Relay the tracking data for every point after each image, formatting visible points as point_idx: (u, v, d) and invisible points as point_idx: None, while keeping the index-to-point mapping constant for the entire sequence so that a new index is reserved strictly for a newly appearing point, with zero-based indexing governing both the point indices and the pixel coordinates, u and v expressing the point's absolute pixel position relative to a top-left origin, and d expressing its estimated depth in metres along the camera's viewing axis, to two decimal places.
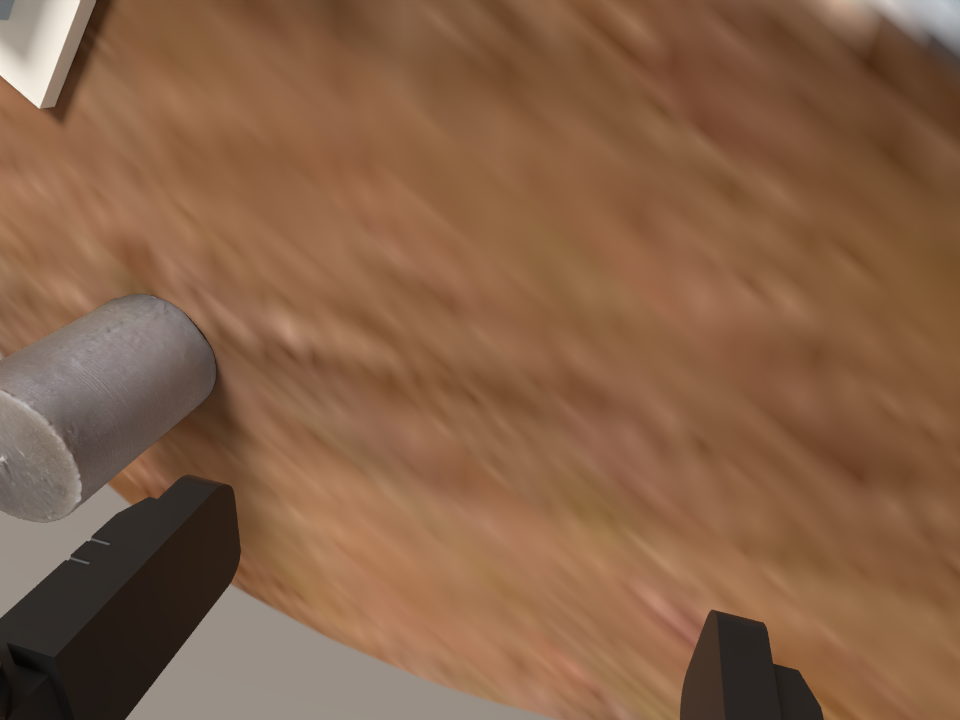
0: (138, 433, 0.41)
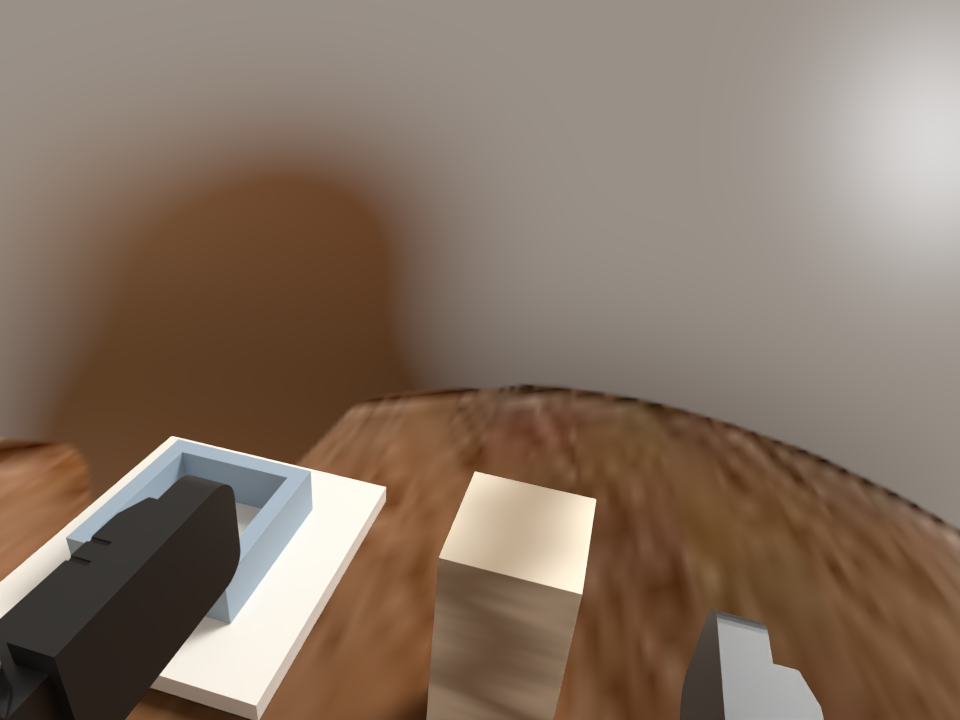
0: None
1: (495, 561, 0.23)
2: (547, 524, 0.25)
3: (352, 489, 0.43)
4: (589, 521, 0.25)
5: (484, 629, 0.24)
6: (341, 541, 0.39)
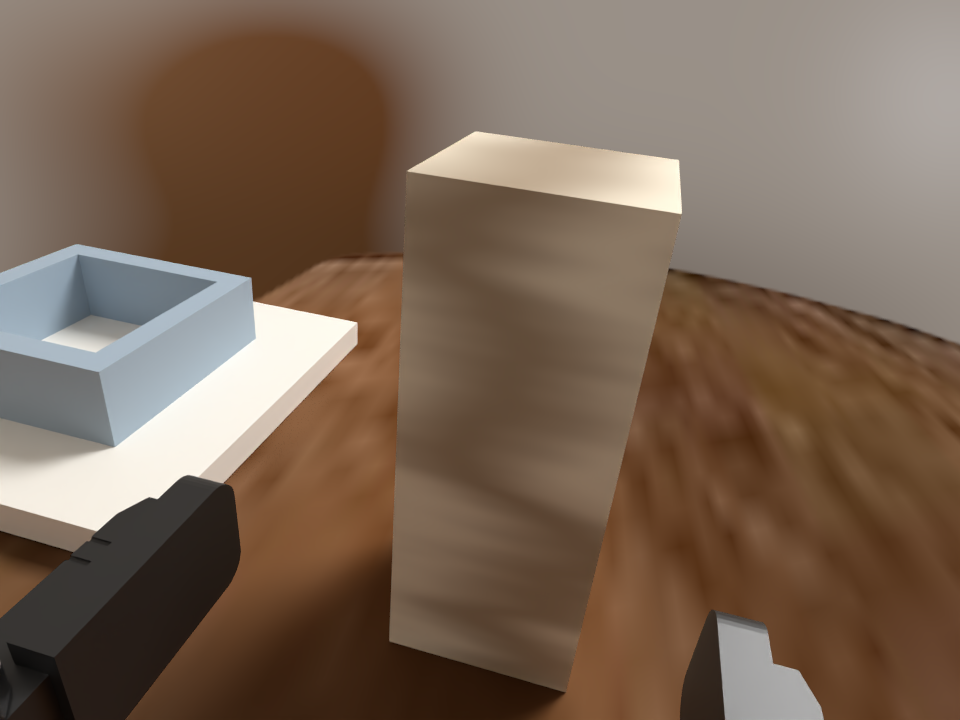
0: None
1: (513, 181, 0.12)
2: (602, 167, 0.14)
3: (312, 322, 0.32)
4: (673, 170, 0.14)
5: (489, 332, 0.13)
6: (290, 369, 0.28)
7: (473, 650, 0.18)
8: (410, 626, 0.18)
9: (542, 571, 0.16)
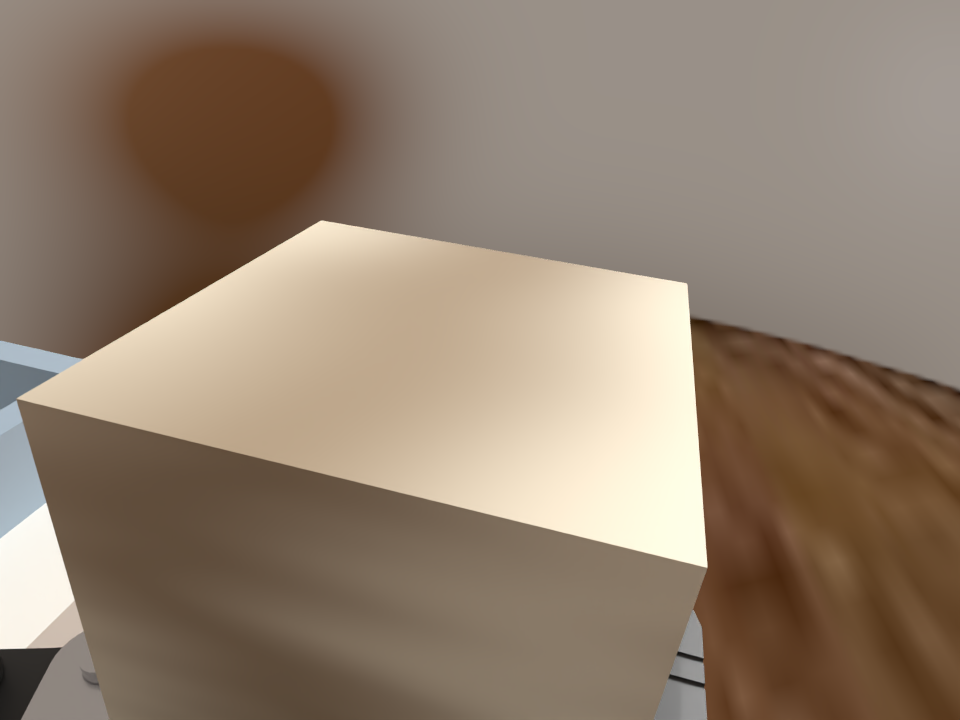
0: None
1: (284, 419, 0.05)
2: (531, 326, 0.07)
3: None
4: (677, 325, 0.07)
5: (273, 715, 0.06)
6: None
7: None
8: None
9: None
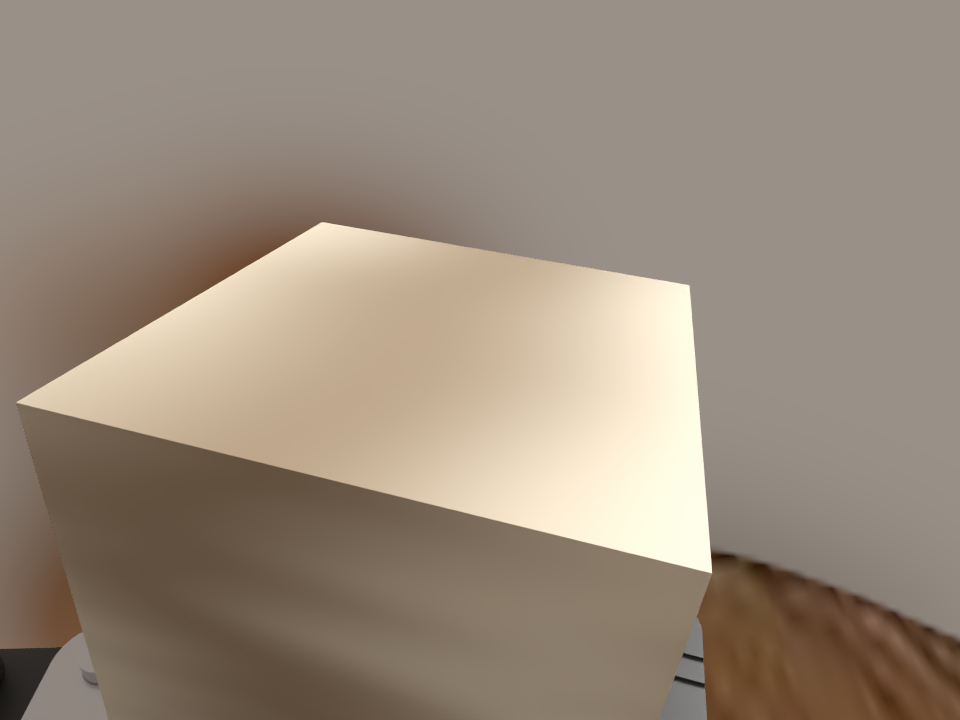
0: None
1: (285, 424, 0.05)
2: (533, 328, 0.07)
3: None
4: (679, 327, 0.07)
5: None
6: None
7: None
8: None
9: None
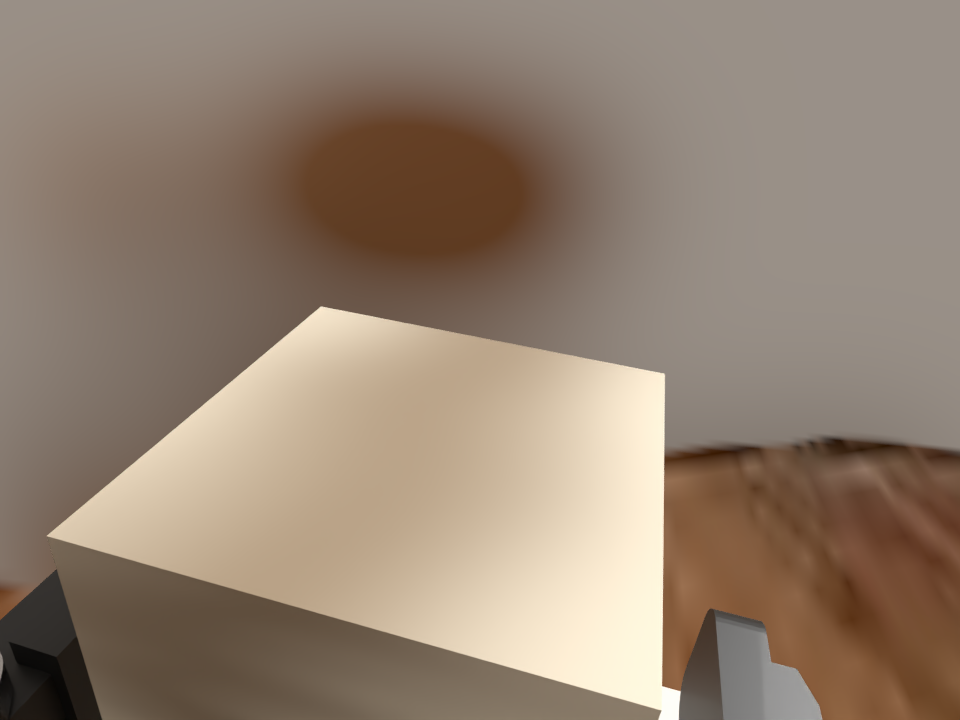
0: None
1: (288, 553, 0.06)
2: (515, 431, 0.07)
3: None
4: (652, 426, 0.08)
5: None
6: None
7: None
8: None
9: None
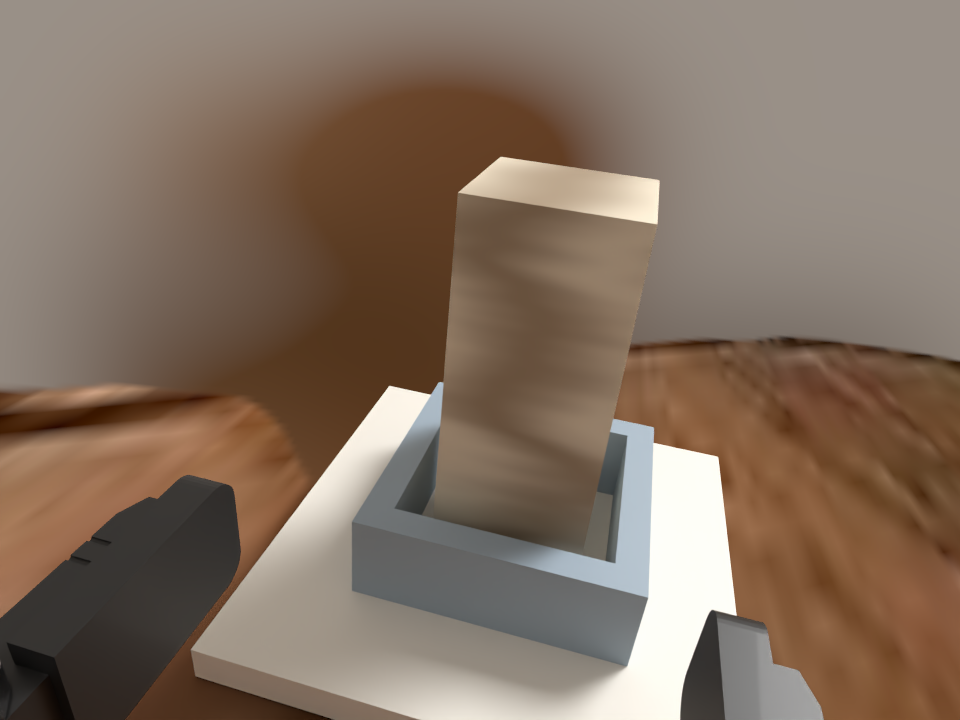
0: None
1: (535, 199, 0.17)
2: (600, 187, 0.19)
3: (674, 459, 0.30)
4: (654, 189, 0.19)
5: (516, 311, 0.18)
6: (709, 533, 0.26)
7: None
8: None
9: (554, 500, 0.20)
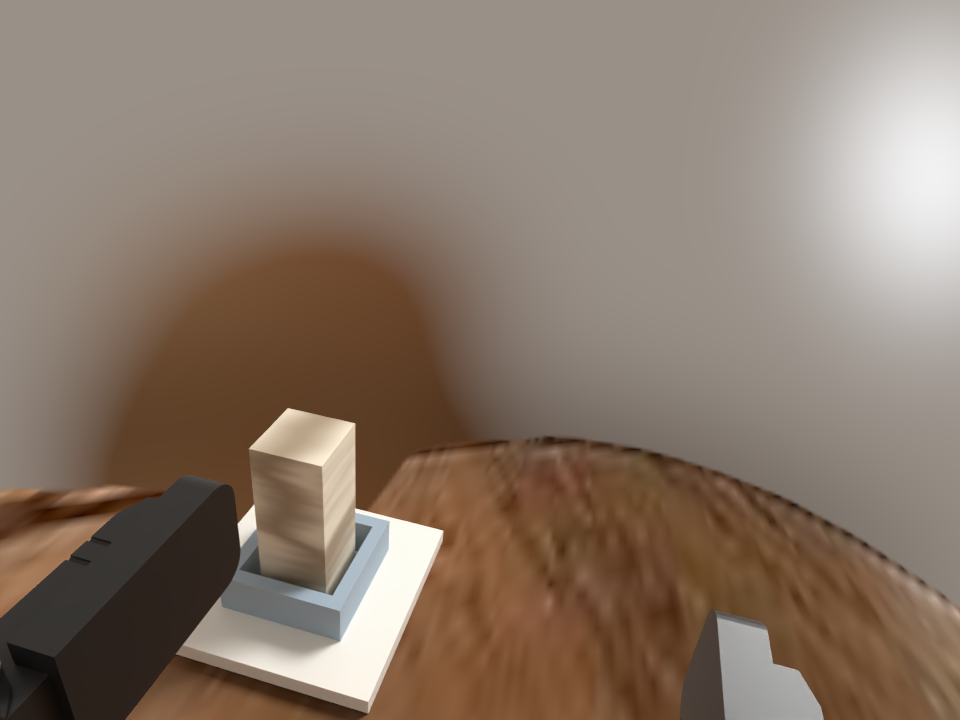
0: None
1: (280, 451, 0.42)
2: (319, 434, 0.44)
3: (417, 532, 0.55)
4: (344, 434, 0.44)
5: (278, 491, 0.43)
6: (414, 576, 0.51)
7: None
8: None
9: (309, 566, 0.45)
